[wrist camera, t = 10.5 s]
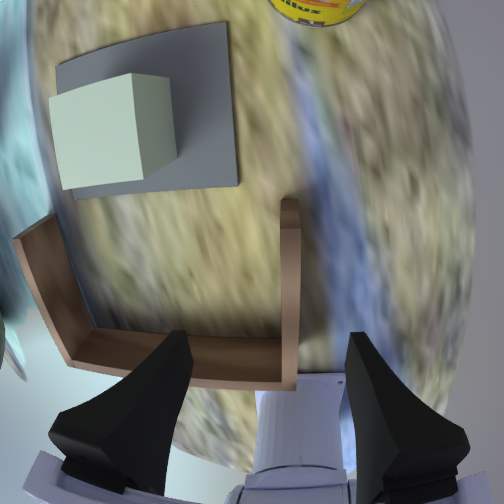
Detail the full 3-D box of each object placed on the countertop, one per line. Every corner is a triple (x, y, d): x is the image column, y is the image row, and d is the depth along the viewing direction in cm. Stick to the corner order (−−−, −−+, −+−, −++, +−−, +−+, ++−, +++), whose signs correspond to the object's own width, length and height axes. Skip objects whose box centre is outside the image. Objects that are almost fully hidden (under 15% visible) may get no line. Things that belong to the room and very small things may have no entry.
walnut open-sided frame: (295, 347, 24) (296, 391, 20) (89, 334, 26) (67, 366, 22) (297, 199, 19) (301, 228, 15) (47, 215, 21) (11, 239, 17)
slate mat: (238, 185, 19) (237, 186, 18) (76, 198, 20) (74, 200, 20) (226, 22, 14) (225, 21, 14) (57, 66, 16) (55, 66, 15)
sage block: (177, 158, 18) (143, 179, 14) (107, 167, 19) (62, 190, 14) (169, 77, 16) (131, 72, 11) (98, 94, 16) (48, 98, 12)
